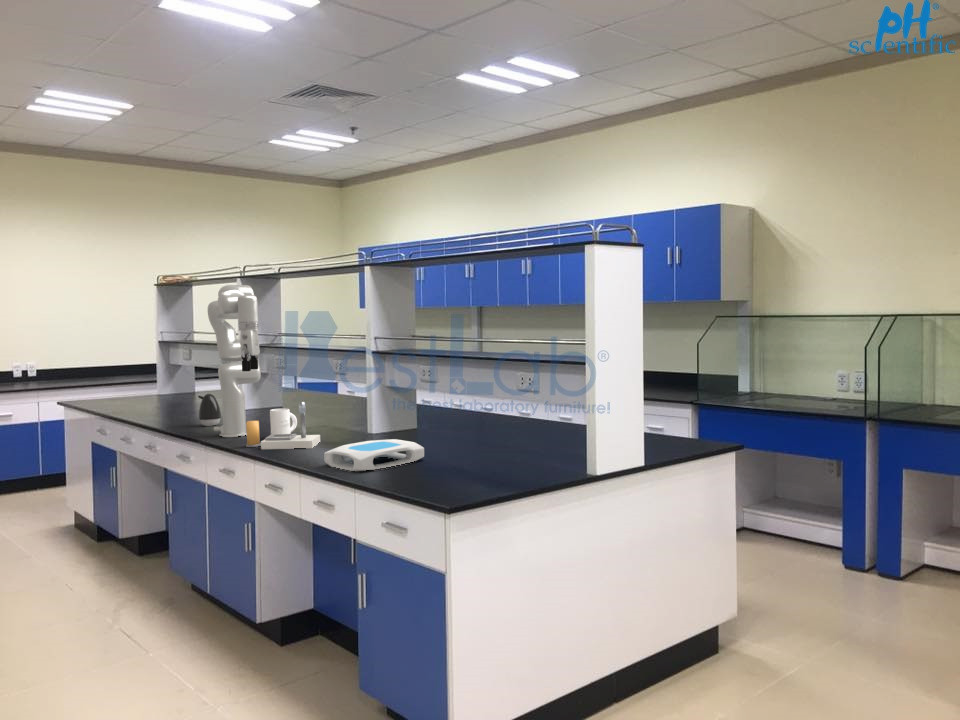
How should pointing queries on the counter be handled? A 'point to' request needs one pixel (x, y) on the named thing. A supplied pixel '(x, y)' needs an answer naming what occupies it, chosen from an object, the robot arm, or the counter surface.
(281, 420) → the mug
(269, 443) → the socket block
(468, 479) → the counter surface
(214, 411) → the pump dispenser
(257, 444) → the plug
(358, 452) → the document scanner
